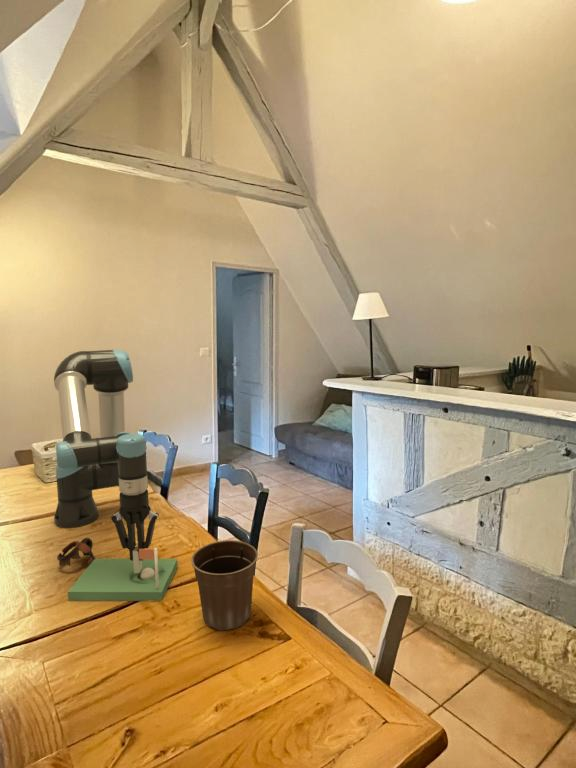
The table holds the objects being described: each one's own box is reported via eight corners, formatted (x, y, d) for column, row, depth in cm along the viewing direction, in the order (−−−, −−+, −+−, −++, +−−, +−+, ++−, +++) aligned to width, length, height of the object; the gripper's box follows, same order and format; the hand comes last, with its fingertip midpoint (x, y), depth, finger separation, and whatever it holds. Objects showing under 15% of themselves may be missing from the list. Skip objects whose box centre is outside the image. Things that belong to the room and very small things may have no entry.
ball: (139, 583, 131) (143, 568, 133) (153, 585, 131) (157, 571, 134) (137, 579, 128) (142, 564, 130) (152, 582, 128) (156, 567, 130)
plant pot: (204, 646, 105) (202, 580, 103) (185, 607, 119) (183, 549, 117) (269, 624, 113) (268, 562, 110) (244, 590, 127) (243, 535, 125)
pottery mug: (90, 574, 136) (72, 554, 133) (65, 584, 138) (47, 565, 135) (106, 545, 147) (91, 526, 144) (83, 555, 149) (67, 537, 146)
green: (68, 600, 122) (67, 591, 122) (95, 566, 139) (94, 558, 139) (161, 600, 122) (161, 592, 122) (177, 566, 139) (177, 558, 139)
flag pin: (142, 596, 124) (139, 547, 122) (159, 596, 124) (157, 547, 122) (141, 598, 123) (138, 549, 121) (159, 598, 123) (156, 549, 121)
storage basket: (31, 472, 226) (29, 442, 224) (67, 465, 236) (65, 437, 234) (43, 485, 208) (40, 453, 205) (81, 477, 218) (78, 447, 216)
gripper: (104, 495, 123) (110, 577, 127) (153, 495, 123) (157, 577, 126) (115, 485, 131) (120, 563, 134) (161, 485, 130) (164, 563, 134)
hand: (138, 570), depth 130 cm, fingers closed
